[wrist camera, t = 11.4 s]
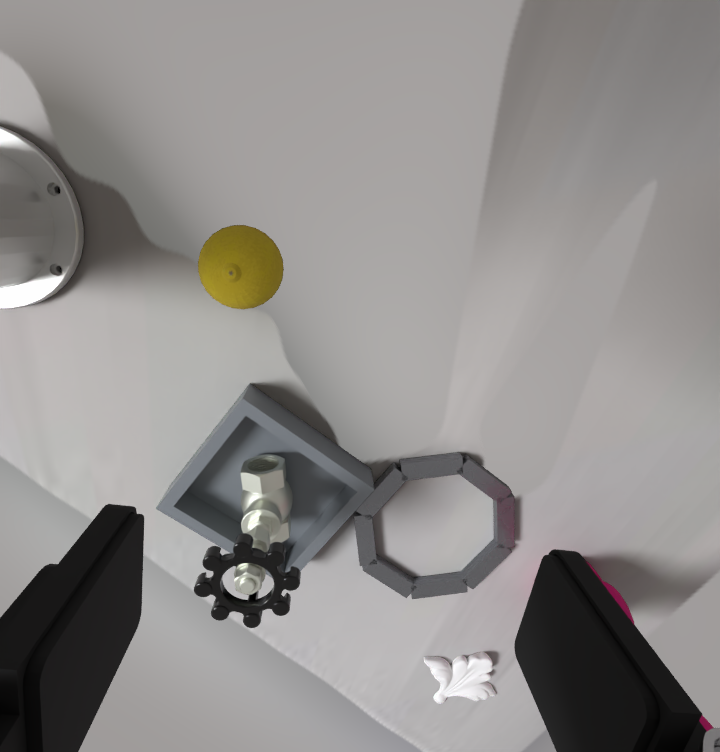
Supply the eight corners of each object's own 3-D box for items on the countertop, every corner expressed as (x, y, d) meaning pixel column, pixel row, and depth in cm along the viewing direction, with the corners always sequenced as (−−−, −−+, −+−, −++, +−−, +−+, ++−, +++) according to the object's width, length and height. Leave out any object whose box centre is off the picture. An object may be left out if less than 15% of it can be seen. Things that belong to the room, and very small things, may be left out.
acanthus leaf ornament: (422, 651, 50) (425, 667, 48) (485, 637, 50) (491, 652, 48) (433, 702, 52) (437, 719, 50) (494, 689, 52) (500, 706, 50)
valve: (236, 521, 42) (201, 632, 30) (227, 454, 40) (185, 546, 28) (310, 516, 42) (303, 624, 31) (305, 449, 40) (295, 539, 29)
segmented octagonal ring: (324, 538, 44) (324, 545, 43) (427, 424, 41) (429, 429, 40) (439, 612, 47) (441, 620, 46) (541, 511, 44) (546, 518, 43)
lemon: (275, 309, 37) (260, 331, 29) (205, 284, 36) (172, 299, 29) (298, 241, 36) (289, 245, 28) (226, 213, 35) (197, 210, 27)
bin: (169, 485, 41) (155, 508, 38) (250, 383, 39) (242, 398, 35) (290, 559, 44) (286, 586, 41) (371, 468, 42) (374, 489, 39)
